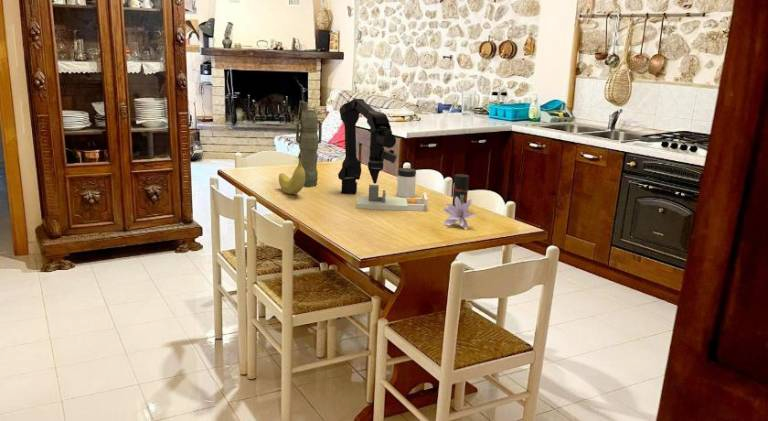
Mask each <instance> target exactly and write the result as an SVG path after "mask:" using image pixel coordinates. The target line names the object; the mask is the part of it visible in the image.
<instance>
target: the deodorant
mask: <svg viewBox="0 0 768 421" xmlns="http://www.w3.org/2000/svg"><path fill="white" fill-rule="evenodd" d="M469 181H470V175H468V174H462V173H456V174H454V182H453V192H452V203H451V205H453V206H455V198H456V196H457V197H458V198H459V199H460V202H461V205H462V204H463V203H465V204H466V202H467V201H468V192H469ZM455 207H456V206H455Z"/></svg>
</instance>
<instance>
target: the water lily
mask: <svg viewBox="0 0 768 421" xmlns="http://www.w3.org/2000/svg"><path fill="white" fill-rule="evenodd" d="M471 204H472V199H471V198H470V199H469V200H468V199H467V202H466V204H465V203H463V204H462V205H461V202H460V199H459V198H458V197H457V196H456V198H455V206H456V207H455V206H453V205H452V203H446V204H445V206H446V208H443V209H442V211H443V212H444V214H446V215H448V216H449V217H448V218H447V219H446V220H445V221H443V223H442V225H443V224H445V225H444V226H451V225H454V224H456V223H457V222H459V226H460V227H461V228H467V230H468V229H469V226H468V221H467V220H466V219H469V218H472V217H475V216H476V214H475V213H474V212H467V211H468V209H469V208H470V205H471Z"/></svg>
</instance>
